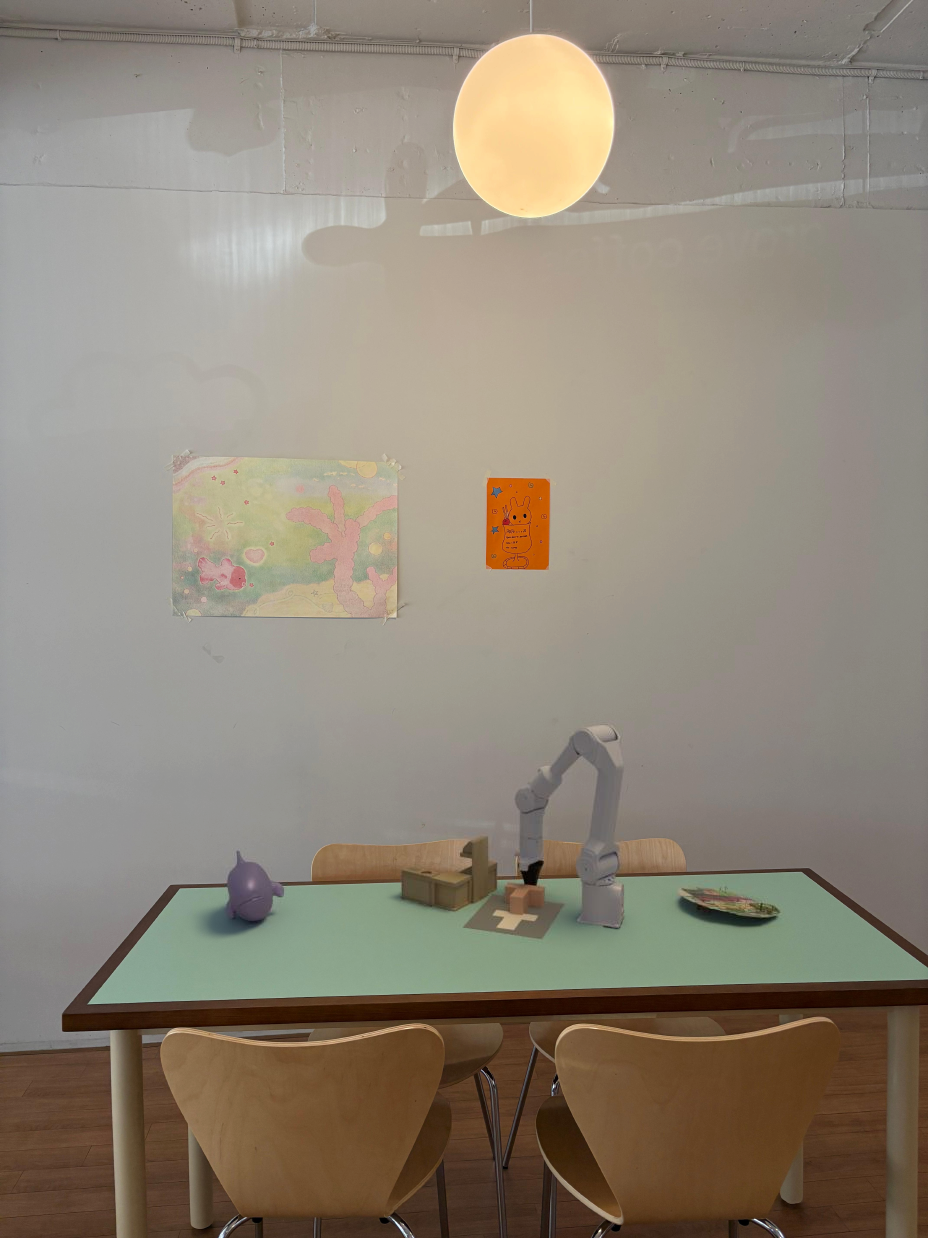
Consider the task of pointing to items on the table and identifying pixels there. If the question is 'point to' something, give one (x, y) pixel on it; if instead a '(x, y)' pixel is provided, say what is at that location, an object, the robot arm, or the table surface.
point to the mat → (514, 918)
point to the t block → (523, 897)
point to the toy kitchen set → (453, 880)
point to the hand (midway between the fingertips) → (530, 891)
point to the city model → (726, 902)
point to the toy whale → (250, 891)
